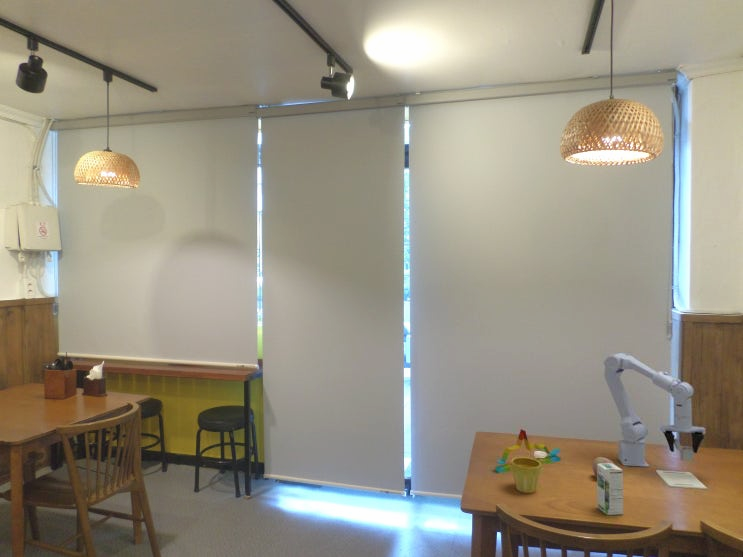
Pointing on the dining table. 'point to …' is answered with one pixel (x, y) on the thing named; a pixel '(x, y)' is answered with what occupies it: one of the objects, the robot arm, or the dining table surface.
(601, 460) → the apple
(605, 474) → the syrup box
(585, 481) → the dining table surface
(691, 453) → the lighter
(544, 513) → the dining table surface
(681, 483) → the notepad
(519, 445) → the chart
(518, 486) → the plant pot
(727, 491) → the dining table surface
